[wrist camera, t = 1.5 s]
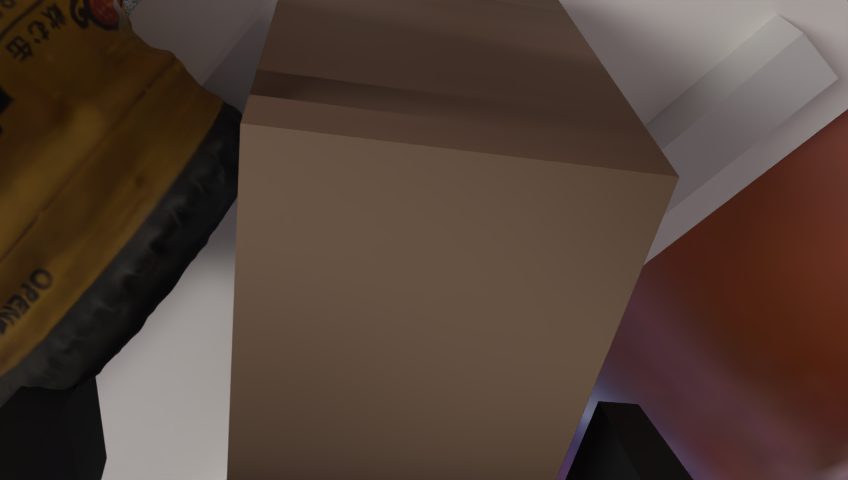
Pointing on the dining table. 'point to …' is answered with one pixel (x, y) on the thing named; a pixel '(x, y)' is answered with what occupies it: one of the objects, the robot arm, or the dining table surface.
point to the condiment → (97, 185)
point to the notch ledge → (624, 61)
